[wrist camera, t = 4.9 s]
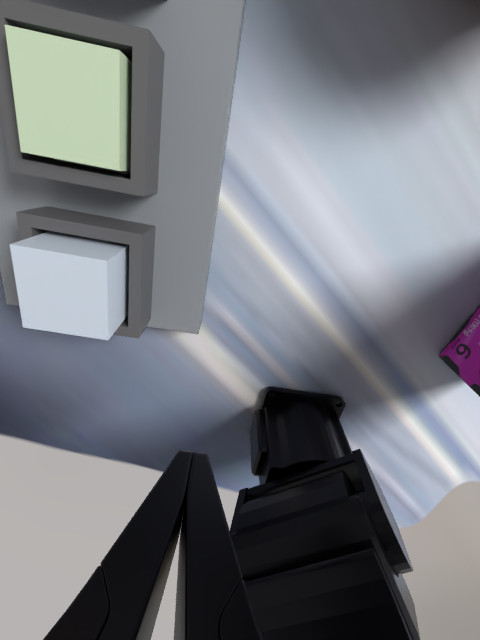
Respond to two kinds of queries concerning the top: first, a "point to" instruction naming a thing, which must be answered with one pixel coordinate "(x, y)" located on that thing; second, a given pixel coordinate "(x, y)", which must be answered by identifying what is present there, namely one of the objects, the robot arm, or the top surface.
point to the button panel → (134, 149)
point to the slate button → (72, 284)
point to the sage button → (71, 99)
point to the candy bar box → (466, 353)
